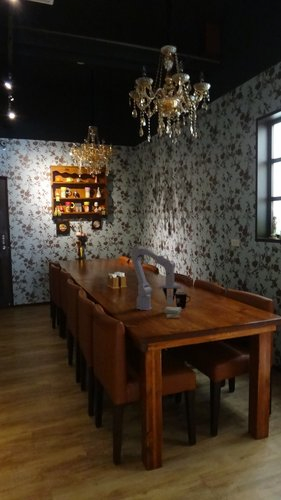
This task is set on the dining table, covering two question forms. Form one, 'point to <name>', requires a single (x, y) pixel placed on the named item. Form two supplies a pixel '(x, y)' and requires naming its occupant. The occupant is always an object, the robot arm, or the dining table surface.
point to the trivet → (172, 316)
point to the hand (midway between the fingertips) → (170, 299)
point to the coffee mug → (181, 299)
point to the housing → (169, 299)
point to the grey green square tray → (172, 310)
